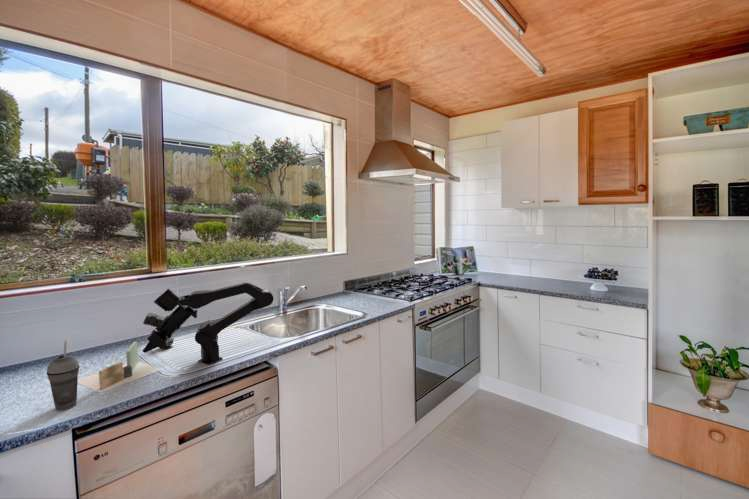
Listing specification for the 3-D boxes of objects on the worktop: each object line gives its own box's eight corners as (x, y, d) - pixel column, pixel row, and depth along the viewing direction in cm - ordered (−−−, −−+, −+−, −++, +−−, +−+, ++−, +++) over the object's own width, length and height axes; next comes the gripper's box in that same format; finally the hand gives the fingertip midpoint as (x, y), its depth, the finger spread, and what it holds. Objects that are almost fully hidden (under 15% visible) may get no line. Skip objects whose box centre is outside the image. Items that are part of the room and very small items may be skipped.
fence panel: (130, 373, 126) (129, 351, 126) (127, 373, 126) (126, 351, 125) (138, 361, 136) (137, 341, 136) (135, 362, 136) (133, 341, 135)
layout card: (162, 369, 130) (162, 369, 130) (99, 393, 113) (99, 392, 113) (135, 361, 138) (135, 360, 138) (73, 381, 121) (73, 380, 121)
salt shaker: (167, 351, 149) (165, 323, 148) (155, 350, 150) (153, 322, 149) (177, 346, 154) (176, 319, 153) (166, 345, 156) (164, 318, 154)
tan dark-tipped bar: (128, 374, 126) (127, 357, 126) (133, 375, 126) (132, 358, 125) (98, 388, 115) (97, 370, 115) (104, 389, 115) (102, 371, 114)
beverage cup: (62, 401, 108) (57, 337, 106) (88, 400, 108) (83, 336, 107) (42, 415, 100) (36, 346, 99) (70, 413, 101) (64, 345, 99)
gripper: (162, 300, 139) (130, 330, 136) (153, 311, 122) (116, 347, 119) (186, 317, 143) (155, 348, 140) (180, 331, 126) (145, 366, 123)
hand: (143, 351), depth 130 cm, fingers closed
